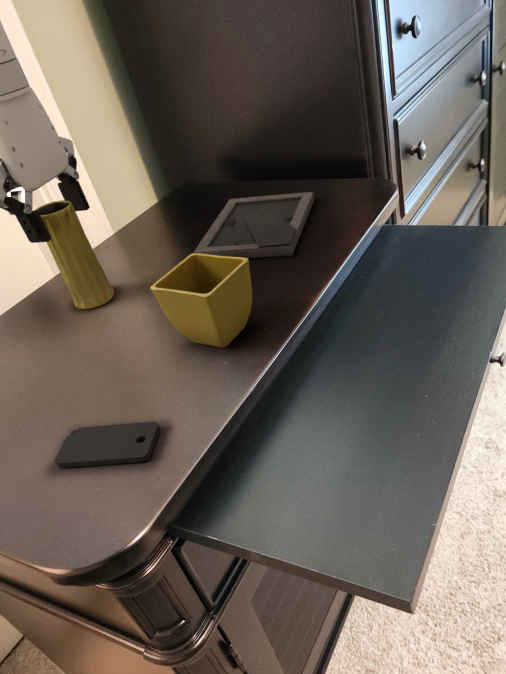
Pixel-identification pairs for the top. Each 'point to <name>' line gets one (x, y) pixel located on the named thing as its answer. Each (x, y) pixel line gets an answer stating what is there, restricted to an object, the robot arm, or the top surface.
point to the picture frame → (258, 226)
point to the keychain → (108, 445)
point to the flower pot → (207, 297)
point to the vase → (75, 256)
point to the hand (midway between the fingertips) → (61, 225)
